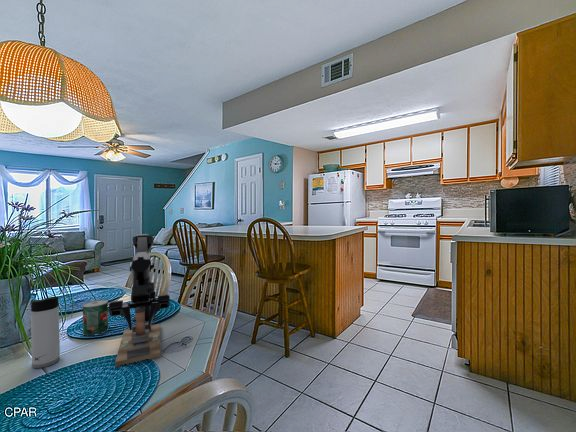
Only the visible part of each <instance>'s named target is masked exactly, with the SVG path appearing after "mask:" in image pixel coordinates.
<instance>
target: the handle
mask: <svg viewBox="0 0 576 432" xmlns="http://www.w3.org/2000/svg"><path fill="white" fill-rule="evenodd" d="M134 315H135V317H134V318H135V320H136V321H135V325H136V332H133V333H132V338H131V344H134V343H139V342H144V341H149V329H148V330H145V323H146V320H145V307H144V306H140V307H136V308H134Z"/></svg>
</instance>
